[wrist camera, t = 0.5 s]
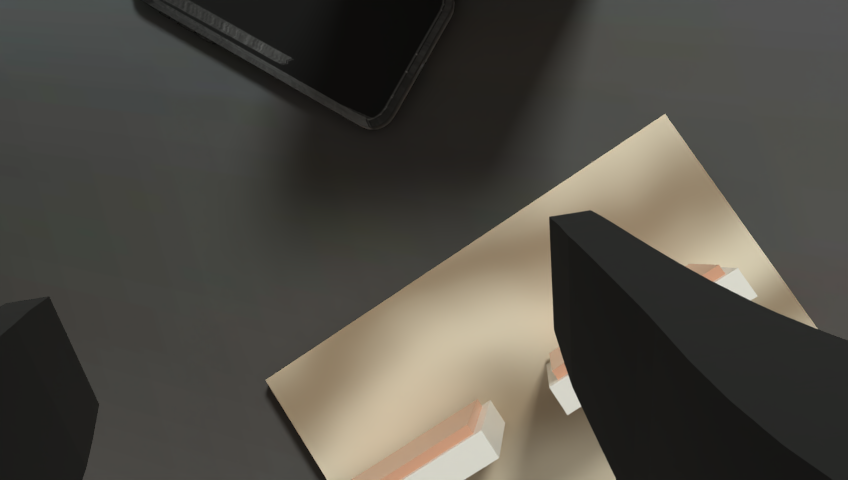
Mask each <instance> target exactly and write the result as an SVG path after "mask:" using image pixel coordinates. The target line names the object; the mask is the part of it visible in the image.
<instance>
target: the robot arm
mask: <svg viewBox="0 0 848 480" xmlns="http://www.w3.org/2000/svg"><path fill="white" fill-rule="evenodd" d="M549 227H550V251H551V274H552V297H553V321H554V332H555V335H556V338H557V341H558V345H559V348H560V351H561V354H562V357H563V361H564V364H565V367H566V370H567V373H568V376H569V379H570V382H571V385H572V387H573V389H574V392H575V394H576V396H577V398H578V400H579V402H580V405H581V407H582V409H583V411H584V413H585V415H586V417H587V419H588V422H589V424H590V426H591V428H592V430H593V432H594V434H595V436H596V438H597V440H598V443H599V445H600V447H601V449H602V451H603V453H604V455H605V457H606V459H607V461H608V463H609V465H610V468H611V470H612V472H613V474H614V476H615V478H616V480H848V340H845V339H842V338H839V337H837V336H834V335H831V334H828V333H826V332H823V331H821V330H818V329H816V328H813V327H811V326H809V325H806V324H804V323H801V322H799V321H796V320H794V319H791V318H789V317H786V316H784V315H782V314H779V313H777V312H775V311H772V310H770V309H768V308H766V307H763V306H761V305H759V304H757V303H755V302H753V301H750V300H749V299H747V298H745V297H743V296H741V295H739V294H737V293H735V292H733V291H731V290H729V289H727V288H725V287H723V286H721V285H719V284H717V283H715V282H713V281H711V280H709V279H707V278H705V277H703V276H702V275H700V274H698V273H696V272H694V271H692V270H691V269H689V268H687V267H685V266H684V265H682V264H680V263H678V262H677V261H675V260H673V259H671V258H670V257H668V256H666V255H665V254H663V253H661V252H660V251H658V250H656V249H655V248H653V247H651V246H650V245H648V244H646V243H645V242H643V241H641V240H640V239H638V238H637V237H635V236H633V235H632V234H630V233H628V232H627V231H625V230H624V229H622V228H620V227H619V226H617V225H615V224H614V223H612V222H611V221H609V220H607V219H606V218H604V217H602V216H601V215H599V214H597V213H595V212H593V211H591V210H588V211H582V212H576V213H570V214H563V215H557V216H551V217H549ZM98 407H99V403H98V401H97V399H96V397H95V395H94V392H93V390H92V388H91V386H90V384H89V382H88V379H87V377H86V375H85V373H84V371H83V369H82V367H81V364H80V362H79V360H78V358H77V356H76V354H75V351H74V349H73V347H72V345H71V343H70V341H69V338H68V336H67V334H66V332H65V330H64V328H63V325H62V323H61V321H60V319H59V317H58V315H57V312H56V310H55V308H54V306H53V304H52V302H51V299H50V297H43V298H37V299H31V300H24V301H18V302H12V303H6V304H4V305H3V306H1V307H0V480H82V479H83V476H84V473H85V470H86V467H87V462H88V458H89V453H90V449H91V444H92V440H93V435H94V429H95V424H96V418H97V413H98Z"/></svg>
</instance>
